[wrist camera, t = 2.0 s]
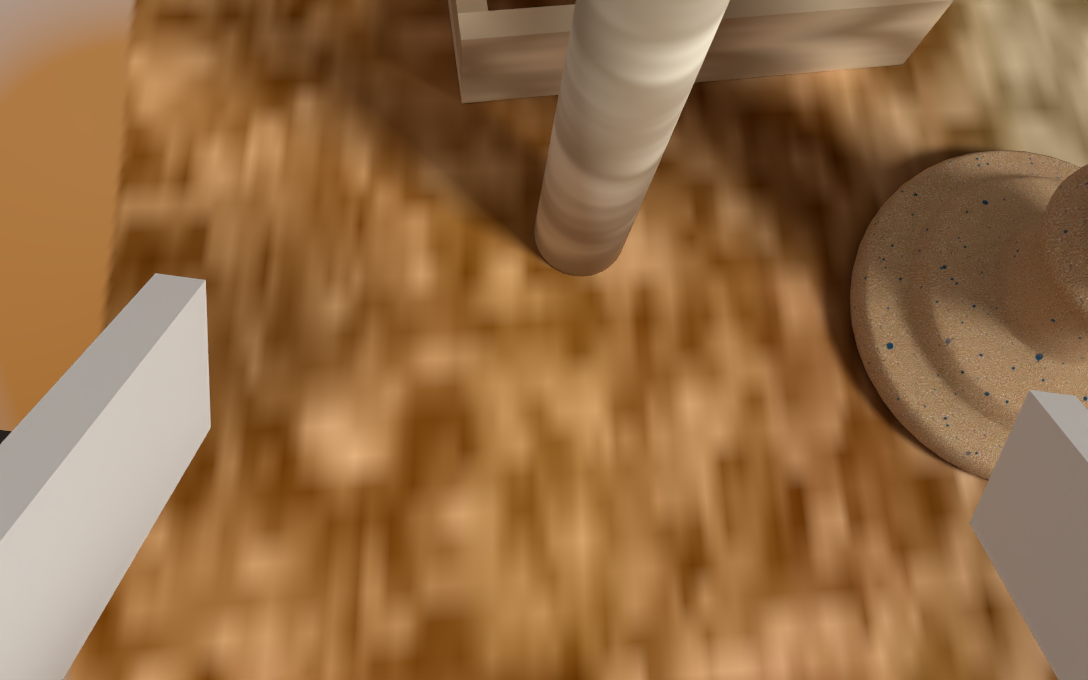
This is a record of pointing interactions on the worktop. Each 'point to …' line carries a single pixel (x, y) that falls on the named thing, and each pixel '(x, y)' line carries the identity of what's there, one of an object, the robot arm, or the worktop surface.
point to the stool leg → (616, 121)
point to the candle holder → (975, 298)
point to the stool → (735, 52)
